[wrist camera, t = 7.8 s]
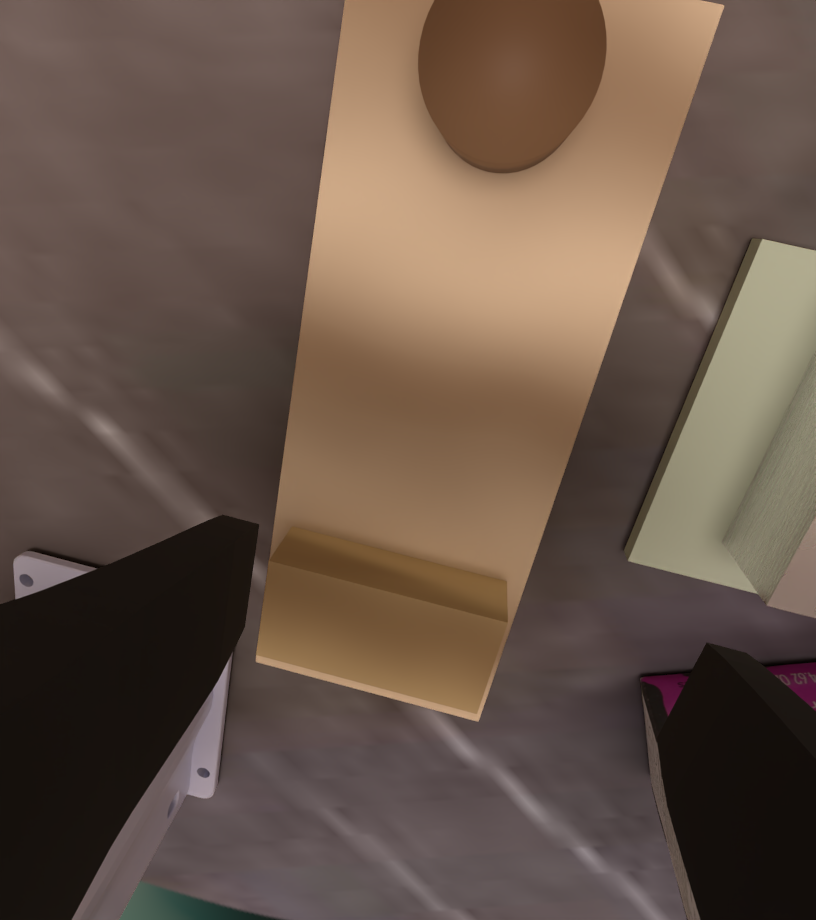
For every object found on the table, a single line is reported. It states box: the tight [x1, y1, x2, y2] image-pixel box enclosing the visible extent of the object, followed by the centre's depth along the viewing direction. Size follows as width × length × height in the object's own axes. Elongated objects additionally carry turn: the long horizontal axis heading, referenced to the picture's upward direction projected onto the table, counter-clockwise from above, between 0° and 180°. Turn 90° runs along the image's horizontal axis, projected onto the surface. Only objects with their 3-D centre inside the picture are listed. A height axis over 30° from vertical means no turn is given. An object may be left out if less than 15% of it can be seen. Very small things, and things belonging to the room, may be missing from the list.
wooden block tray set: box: [256, 0, 724, 722], centre depth 15 cm, size 18×7×5 cm, turn 168°
